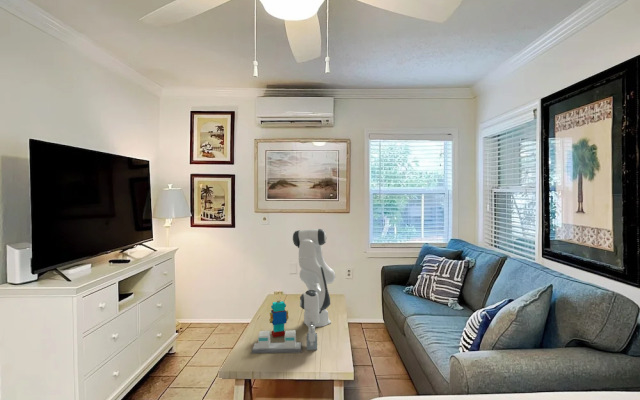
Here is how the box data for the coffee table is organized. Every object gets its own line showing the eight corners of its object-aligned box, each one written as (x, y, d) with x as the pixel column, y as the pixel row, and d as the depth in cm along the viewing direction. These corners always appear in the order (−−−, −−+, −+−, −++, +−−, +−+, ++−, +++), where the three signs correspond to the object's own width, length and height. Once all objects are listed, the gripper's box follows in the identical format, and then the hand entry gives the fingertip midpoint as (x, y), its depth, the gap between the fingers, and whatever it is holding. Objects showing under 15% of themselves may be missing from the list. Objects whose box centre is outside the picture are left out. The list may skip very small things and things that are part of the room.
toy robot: (286, 332, 233) (286, 293, 232) (288, 335, 227) (288, 296, 226) (268, 334, 228) (268, 295, 228) (270, 338, 223) (270, 298, 222)
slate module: (306, 346, 210) (306, 333, 210) (316, 346, 210) (316, 332, 210) (306, 350, 206) (306, 336, 206) (317, 349, 206) (317, 336, 206)
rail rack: (254, 345, 213) (254, 330, 213) (301, 344, 214) (301, 329, 213) (251, 353, 202) (251, 337, 202) (301, 352, 203) (301, 336, 202)
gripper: (317, 325, 198) (317, 350, 198) (316, 313, 218) (316, 335, 218) (306, 325, 197) (306, 350, 198) (306, 313, 218) (306, 336, 218)
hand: (311, 342), depth 208 cm, fingers closed on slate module, 4 cm apart
